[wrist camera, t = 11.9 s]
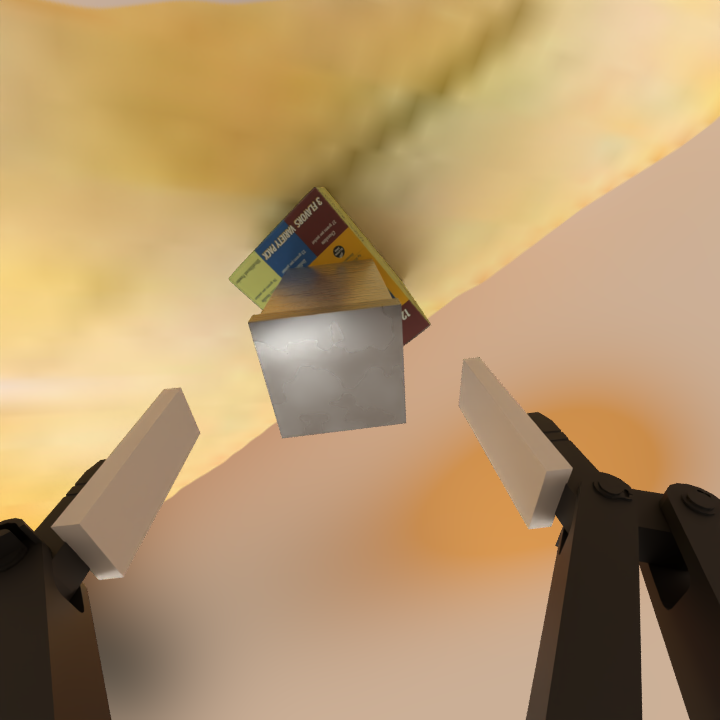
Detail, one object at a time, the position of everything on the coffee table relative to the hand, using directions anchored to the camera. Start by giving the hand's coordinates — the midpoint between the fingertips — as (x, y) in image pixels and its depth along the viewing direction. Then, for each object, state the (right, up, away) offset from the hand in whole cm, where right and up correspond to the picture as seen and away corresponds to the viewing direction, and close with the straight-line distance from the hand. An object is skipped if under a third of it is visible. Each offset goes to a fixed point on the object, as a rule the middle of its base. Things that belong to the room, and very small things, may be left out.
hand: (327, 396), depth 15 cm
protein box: (-2, +14, +26) cm, 30 cm away
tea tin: (-1, +7, +12) cm, 14 cm away
